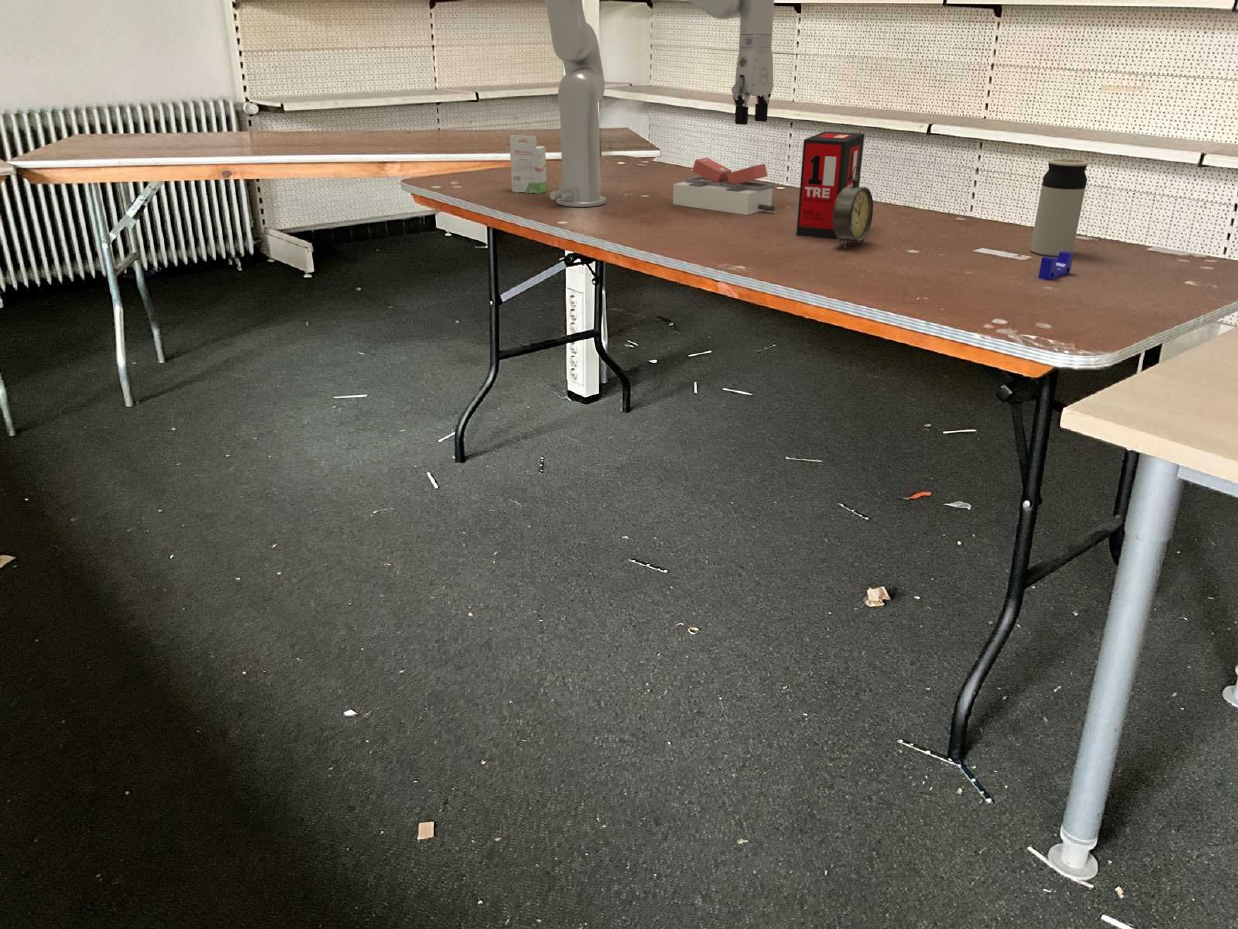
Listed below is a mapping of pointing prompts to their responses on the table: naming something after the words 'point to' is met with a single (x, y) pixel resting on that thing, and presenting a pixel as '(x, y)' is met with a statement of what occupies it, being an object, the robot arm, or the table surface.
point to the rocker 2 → (747, 174)
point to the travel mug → (1059, 206)
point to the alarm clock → (853, 213)
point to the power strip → (724, 196)
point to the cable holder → (1055, 266)
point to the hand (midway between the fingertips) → (751, 122)
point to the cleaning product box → (826, 179)
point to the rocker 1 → (711, 170)
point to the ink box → (527, 165)
